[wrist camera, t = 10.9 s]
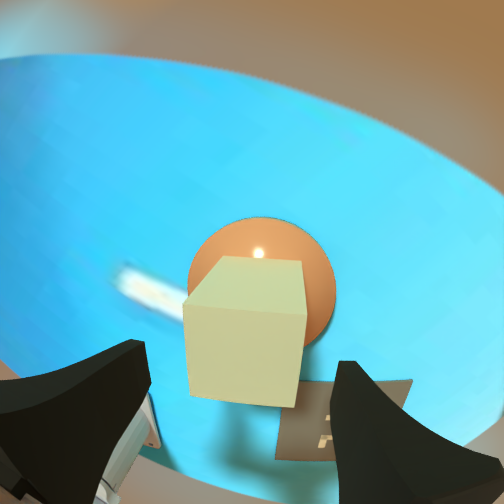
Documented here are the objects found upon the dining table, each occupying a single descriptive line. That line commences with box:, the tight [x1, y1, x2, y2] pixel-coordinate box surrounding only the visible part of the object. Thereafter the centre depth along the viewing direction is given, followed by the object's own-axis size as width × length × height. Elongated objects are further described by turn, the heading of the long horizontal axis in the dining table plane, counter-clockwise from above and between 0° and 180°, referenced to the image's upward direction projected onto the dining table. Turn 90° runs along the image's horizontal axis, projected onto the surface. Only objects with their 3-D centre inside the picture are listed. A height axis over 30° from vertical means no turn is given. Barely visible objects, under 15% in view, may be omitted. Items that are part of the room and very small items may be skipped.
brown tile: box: [275, 379, 413, 461], centre depth 21 cm, size 10×10×1 cm
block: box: [183, 256, 307, 408], centre depth 14 cm, size 4×4×7 cm
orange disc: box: [188, 217, 336, 347], centre depth 18 cm, size 9×9×1 cm
